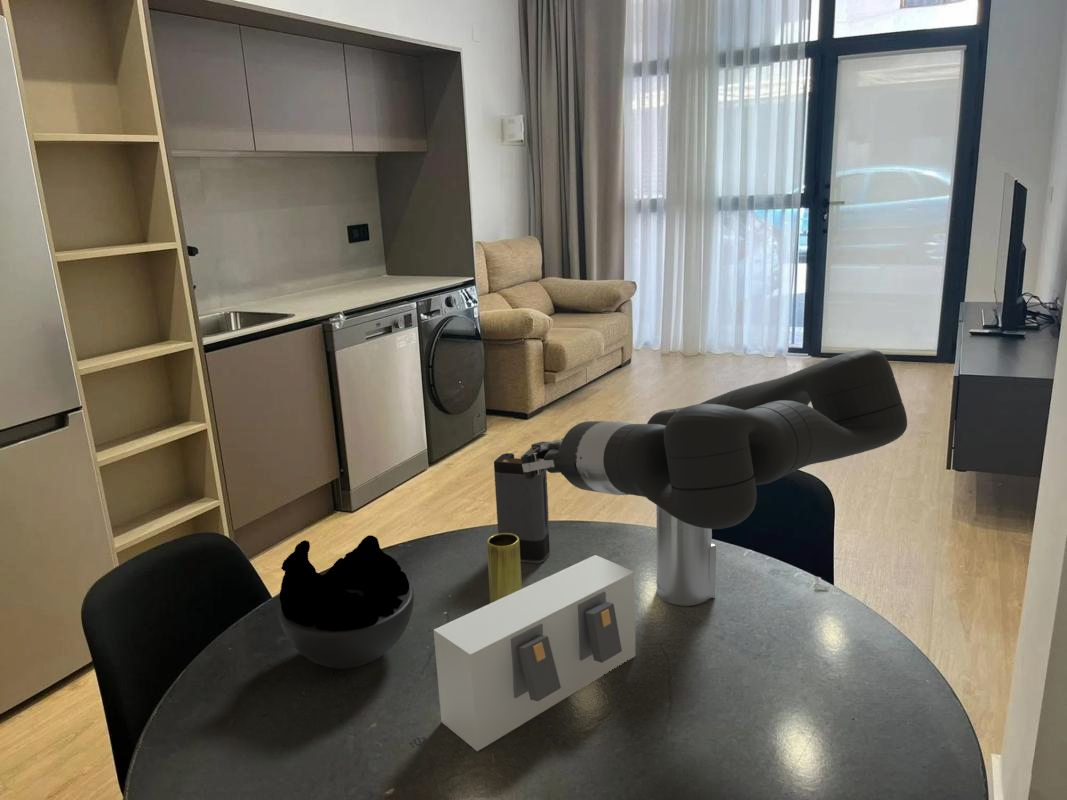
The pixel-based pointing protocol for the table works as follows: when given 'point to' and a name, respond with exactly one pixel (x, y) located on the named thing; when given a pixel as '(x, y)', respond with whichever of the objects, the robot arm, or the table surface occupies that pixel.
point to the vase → (503, 565)
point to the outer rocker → (539, 667)
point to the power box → (500, 627)
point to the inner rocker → (603, 632)
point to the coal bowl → (345, 605)
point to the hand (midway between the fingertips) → (537, 451)
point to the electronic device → (522, 507)
